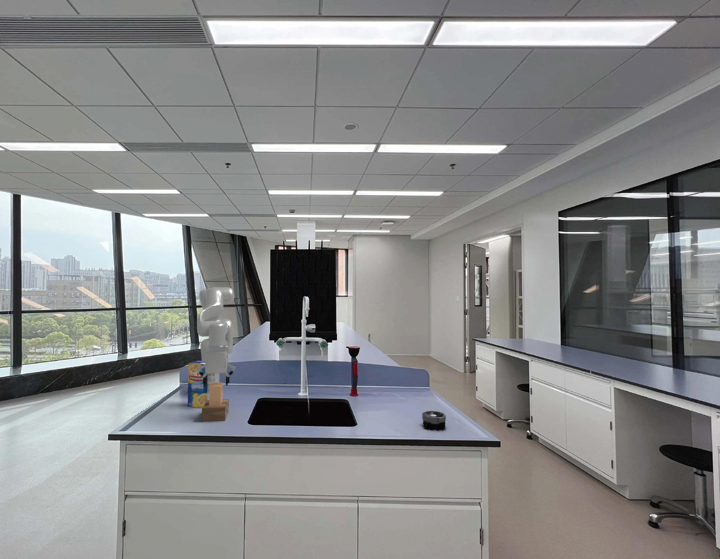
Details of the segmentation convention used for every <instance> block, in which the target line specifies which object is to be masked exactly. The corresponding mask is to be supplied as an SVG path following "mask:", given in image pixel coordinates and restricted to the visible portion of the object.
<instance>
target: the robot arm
mask: <svg viewBox="0 0 720 559" xmlns="http://www.w3.org/2000/svg"><path fill="white" fill-rule="evenodd" d="M198 297H199V303H200V305H201V307H202V310H201V311H200V312H199V314H198V316H197V320H196V331H197V334H198V335H199V336H200V337H202V338H203V337H208V338H205V339H202V341H201V342H200V345H199V346H200V353H201V361H205V364H204V365H202V366H200V367H198V368H197V370H198V372H199V374H200V375H201V376H202V377H203V384H204V386H206V385H207V376H206V375H207V374H215V383H220V374H224V375H225V386H228V384H230V377H231V376H232V375H233V373H234V372H235V370H236V369H237V368H236V366H235V365H232V364H231V363H229V355H230V354H232V352H233V349H234V326H233V322H232V320H231V319H229V318H220V315H222V313H223V311H224V305H229V304H232V303H233V302H234V300H235V292H234V289H233V288H231V287H228V286H227V287H225V286H223V287H222V286H213V287H209V288H204V289H201V290H200V291H199V293H198ZM204 367H205V373H203V372H202V371H201V369H202V368H204ZM229 368H230V369H231V370H230V371H229Z"/></svg>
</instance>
